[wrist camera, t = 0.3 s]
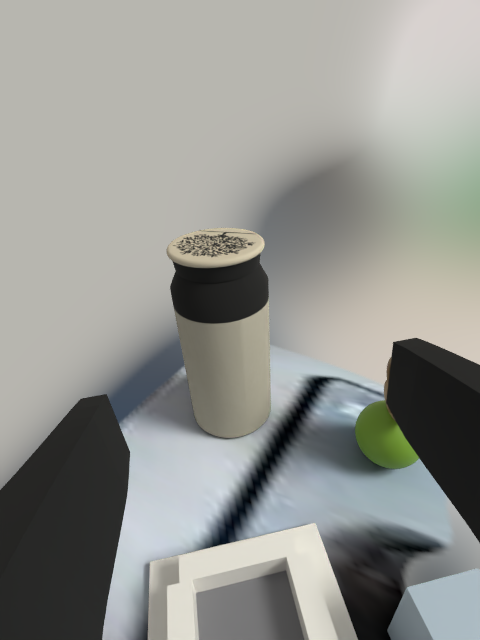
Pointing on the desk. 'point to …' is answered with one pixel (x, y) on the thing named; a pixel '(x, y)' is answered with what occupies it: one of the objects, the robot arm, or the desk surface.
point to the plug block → (440, 610)
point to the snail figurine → (383, 435)
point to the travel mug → (223, 327)
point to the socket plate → (249, 592)
